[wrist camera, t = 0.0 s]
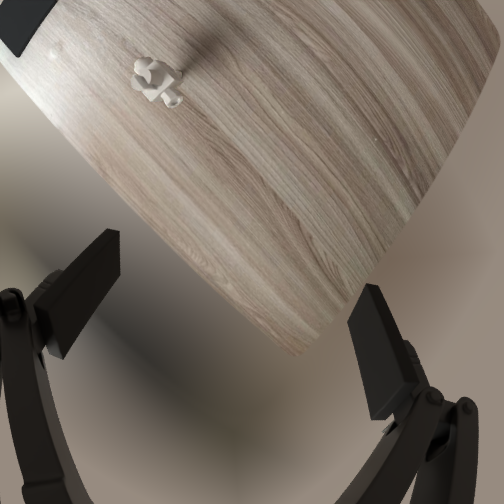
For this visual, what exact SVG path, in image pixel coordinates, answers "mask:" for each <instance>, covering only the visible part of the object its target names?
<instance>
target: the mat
mask: <svg viewBox="0 0 504 504" xmlns="http://www.w3.org/2000/svg"><path fill="white" fill-rule="evenodd" d="M56 3H57V1H56V0H3V2H2V3H1V5H0V39H1V40H2V41H3V42H4V44H5V45H6V46H7V47H8V48H9V49H10V50H11V52H12V53H13V54H14V55H15V56H16V57H20V56H21V54H22V52H23V51H24V49H25V47H26V46H27V44H28V42H29V41H30V39H31V38H32V36H33V35H34V33H35V32H36V30H37V29H38V27H39V26H40V24H41V23H42V22H43V20H44V19H45V17H46V16H47V15H48V13H49V12H50V11H51V9H52V8H53V7H54V5H55V4H56Z"/></svg>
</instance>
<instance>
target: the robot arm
mask: <svg viewBox="0 0 504 504" xmlns="http://www.w3.org/2000/svg"><path fill="white" fill-rule="evenodd" d="M119 233H120V231H116V230H112V229H106V230H105V231H104V232H103V233H102V234H101V235H99V237H98V238H96V239H95V240H94V241H93V242H92V243H91V244H90V245H89V246H88V247H87V248H86V249H85V250H84V251H83V252H82V253H81V254H80V255H79V256H78V257H77V258H76V259H75V260H74V261H73V262H72V263H71V264H70V265H69V266H68V267H67V268H66V269H65V270H64V271H63V270H60V269H58V270H56V271H54V272H52V273H51V274H49V275H48V276H47V277H46V278H45V279H44V280H43V282H41V283H40V284H39V286H38V287H37V288H36V289H35V290H34V291H33V292H32V293H31V294H30V295H29V296H28V297H27V298H26V300H25V301H24V297H23V294H22V292H21V291H20V290H19V289H16V288H8V289H5V290H3V291H1V292H0V396H1V386H2V379H3V383H4V392H5V400H6V406H7V413H8V418H9V423H10V429H11V434H12V438H13V443H14V447H15V450H16V455H17V459H18V462H19V466H20V469H21V473H22V475H23V479H24V485H23V486H22V495H23V499H24V501H25V504H94V503H93V502H92V501H91V499H90V497H89V495H88V493H87V492H86V489H85V487H84V485H83V483H82V480H81V478H80V476H79V473H78V471H77V469H76V466H75V464H74V461H73V459H72V456H71V453H70V451H69V448H68V445H67V443H66V440H65V437H64V434H63V431H62V428H61V424H60V421H59V418H58V415H57V411H56V408H55V404H54V400H53V396H52V392H51V389H50V385H49V380H48V375H47V371H46V367H45V362H44V356H43V353H42V350H43V348H44V347H45V345H46V347H47V349H48V352H49V354H51V355H53V356H55V357H58V358H60V359H62V360H63V359H64V358H65V356H66V354H67V353H68V351H69V349H70V348H71V346H72V345H73V343H74V342H75V340H76V338H77V337H78V335H79V334H80V332H81V331H82V329H83V328H84V326H85V325H86V323H87V322H88V320H89V319H90V317H91V316H92V314H93V313H94V311H95V310H96V309H97V307H98V305H99V304H100V303H101V301H102V300H103V299H104V297H105V296H106V294H107V293H108V291H109V290H110V289H111V287H112V286H113V284H114V283H115V282H116V280H117V279H118V278H119V276H120V241H119V240H120V234H119ZM347 323H348V327H349V330H350V334H351V338H352V341H353V345H354V349H355V353H356V357H357V361H358V365H359V369H360V373H361V377H362V381H363V386H364V390H365V394H366V398H367V403H368V408H369V412H370V417H371V420H386V419H387V418H388V417H389V416H390V415H391V414H392V413H393V415H394V421H393V422H391V423H390V425H388V426H387V427H386V428H385V429H384V430H383V431H382V432H383V433H384V432H385V431H386V432H385V434H384V435H383V437H382V439H381V440H380V442H379V443H378V445H377V446H376V448H375V449H374V451H373V452H372V454H371V456H370V457H369V459H368V460H367V461H366V463H365V464H364V466H363V467H362V469H361V470H360V471H359V473H358V474H357V475H356V477H355V478H354V480H353V481H352V482H351V483H350V485H349V486H348V487H347V489H346V490H345V491H344V493H343V494H342V495H341V496H340V498H339V499H338V500H337V501H336V502H335V504H400V503H401V501H402V500H403V498H404V496H405V494H406V492H407V490H408V489H409V487H410V485H411V483H412V481H413V479H414V477H415V475H416V473H417V477H416V481H415V485H414V489H413V493H412V497H411V500H410V504H473V503H474V496H475V487H476V477H477V465H478V438H479V434H478V433H479V430H478V429H479V427H478V408H477V406H476V404H475V403H474V402H473V400H471V399H470V398H468V397H461V398H460V399H459V400H458V401H457V403H453V402H450V401H446V400H445V399H444V396H443V395H442V393H441V392H440V391H439V390H438V389H436V388H434V387H430V385H429V382H428V380H427V377H426V375H425V373H424V370H423V367H422V365H421V364H420V360H419V358H418V355H417V353H416V351H415V349H414V347H413V346H412V345H411V344H410V342H409V341H408V340H403V339H402V336H401V334H400V332H399V330H398V327H397V325H396V323H395V320H394V318H393V316H392V314H391V312H390V310H389V307H388V305H387V303H386V301H385V299H384V297H383V294H382V292H381V290H380V288H379V286H378V285H372V284H367V283H366V285H365V287H364V289H363V291H362V293H361V295H360V297H359V300H358V302H357V304H356V305H355V307H354V309H353V312H352V313H351V316H350V317H349V320H348V322H347ZM417 471H418V472H417Z"/></svg>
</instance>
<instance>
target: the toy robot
mask: <svg viewBox="0 0 504 504" xmlns="http://www.w3.org/2000/svg"><path fill="white" fill-rule="evenodd" d="M134 71H135V72H136V73H137V74H138V75H139V76H138V75H134V74H133V76H132V78H131V86H132V88H133V89H134V90H137V91H142V92H143V94H144V95H145V96H146V97H147V98H148V99H149V100H150V101H151V102H162V101H163V100H164V102H165V104H166V105H167V107H168V108H174V107H176V106H178V105H179V104H180V103H181V102H182V100H183V97H182V95H181V93H180V92H178V91H177V90H176V88H177V87H178V86H179V85H181V84H182V83H183V81H182V80H181V78H182V72H181V71H178V70H176V71H174V70H173V69H172V68H171V67H170V66H169V65H167V64H166V63H165V62H162V61H158V60H154V61H153V60H152V58H151V57H146V58H145V57H141V58H139V59H138V60H137V61H136V62H135V68H134Z"/></svg>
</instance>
